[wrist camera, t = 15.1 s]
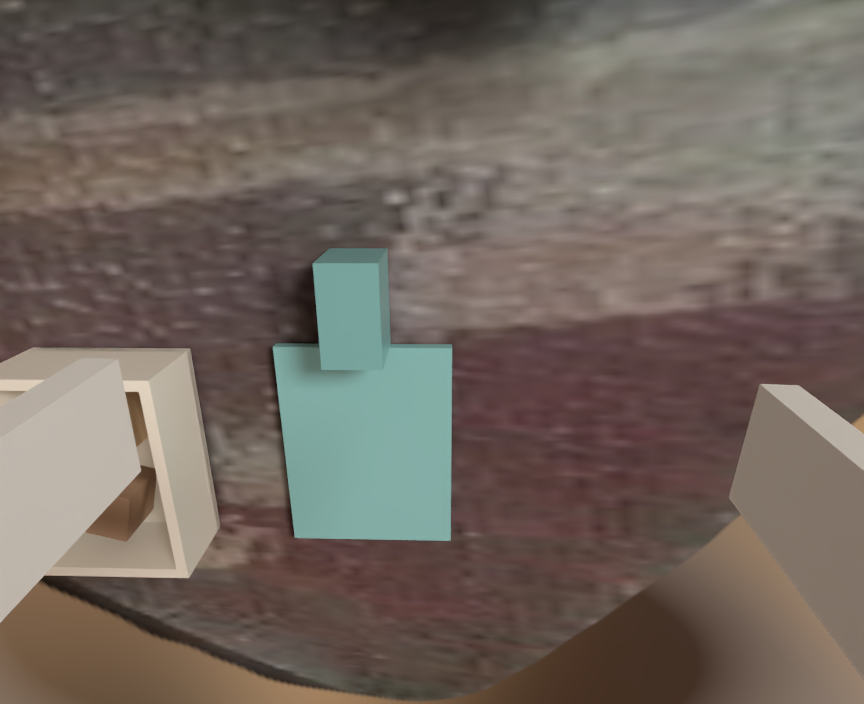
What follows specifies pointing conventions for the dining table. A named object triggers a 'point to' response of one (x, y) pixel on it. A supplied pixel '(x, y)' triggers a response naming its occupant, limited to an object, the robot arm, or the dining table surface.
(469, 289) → the dining table surface
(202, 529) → the tub
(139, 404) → the block
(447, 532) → the lid
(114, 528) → the block
